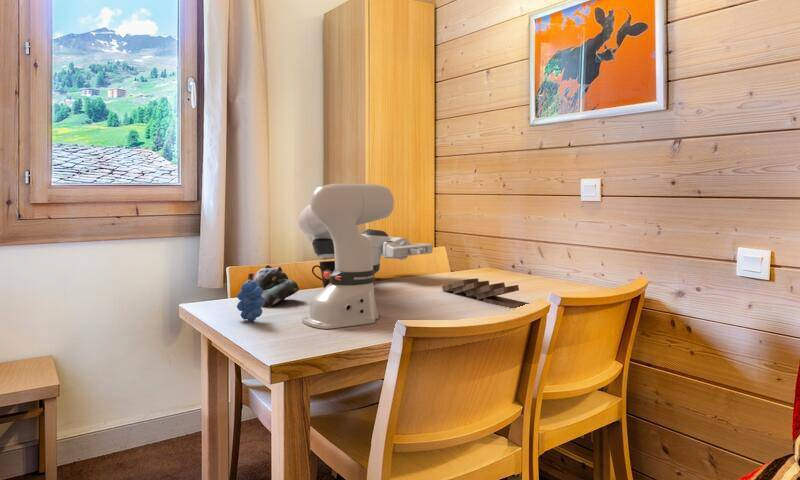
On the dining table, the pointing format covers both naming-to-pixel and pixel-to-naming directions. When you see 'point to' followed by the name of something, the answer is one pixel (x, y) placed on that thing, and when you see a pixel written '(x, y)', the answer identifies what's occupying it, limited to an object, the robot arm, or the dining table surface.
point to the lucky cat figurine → (273, 284)
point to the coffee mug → (325, 270)
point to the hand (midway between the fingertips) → (422, 252)
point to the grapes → (250, 301)
